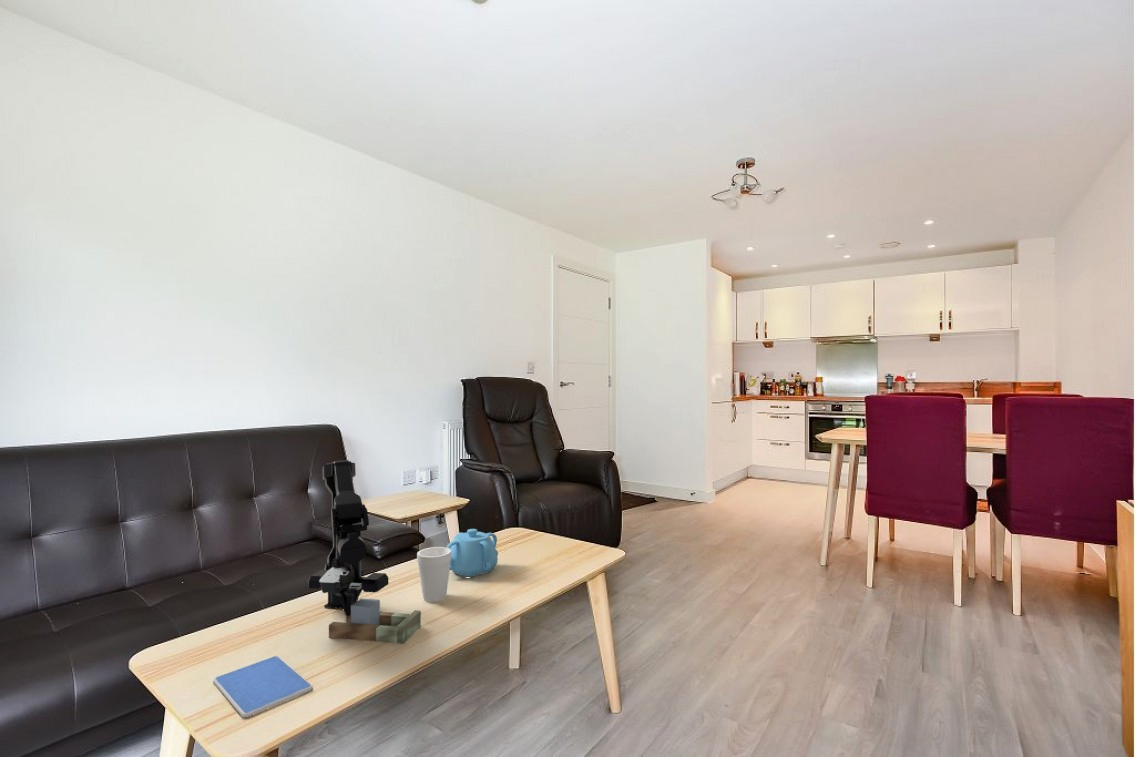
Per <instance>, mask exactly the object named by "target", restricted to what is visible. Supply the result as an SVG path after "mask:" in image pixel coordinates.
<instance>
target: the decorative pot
mask: <svg viewBox="0 0 1135 757" xmlns="http://www.w3.org/2000/svg"><path fill="white" fill-rule="evenodd" d="M466 530H467V531H466V532H458V533H457V534H456V535H455V536H454V537H453V540H452V541H450V542H449V543H448V544H447V545H446V548H449V549H450V550H451V561H450V569H449V571H452V572H453V573H454V574H456V575H460V576H464V577H472V578H474V577H473V576H480V575H483V574H488V573H487V572H489V573H490V572H492V571H493V570H494V569H496V566H497V564H498V556H499V551H498V550H497V549H496V547H497V543H498V537H497V535H496V534H495V533H493V532H487V533H485V532H482V531H478V529H477V528H469V529H466ZM491 537H492V538H491Z"/></svg>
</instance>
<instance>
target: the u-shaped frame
mask: <svg viewBox="0 0 1135 757" xmlns="http://www.w3.org/2000/svg"><path fill="white" fill-rule="evenodd" d="M421 612H422V611H421V610H418V609H417V610H415V609H414V610H413V611H412V612H411V613H402V612H401V613H400V612H390V611H389V612H388V611H380V625H371V624H358V623H351V615H350V616H346V615H345V622H344V621H342V622H341V621H332V622H331V623H330V624H328V638H330V639H331V638H333V639H341V640H342V639H344V640H355V641H367V642H377V643H389V644H390V643H391V644H402V645H403V644H405V643H406V642H407V641H408V640H409V639H410V638H411V637H413V635H414V634H415V633H416V632H417V631H419V629H421V626H422V625H421V624H422V622H421V621H422V620H421V619H422V616H421V615H422V613H421Z"/></svg>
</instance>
